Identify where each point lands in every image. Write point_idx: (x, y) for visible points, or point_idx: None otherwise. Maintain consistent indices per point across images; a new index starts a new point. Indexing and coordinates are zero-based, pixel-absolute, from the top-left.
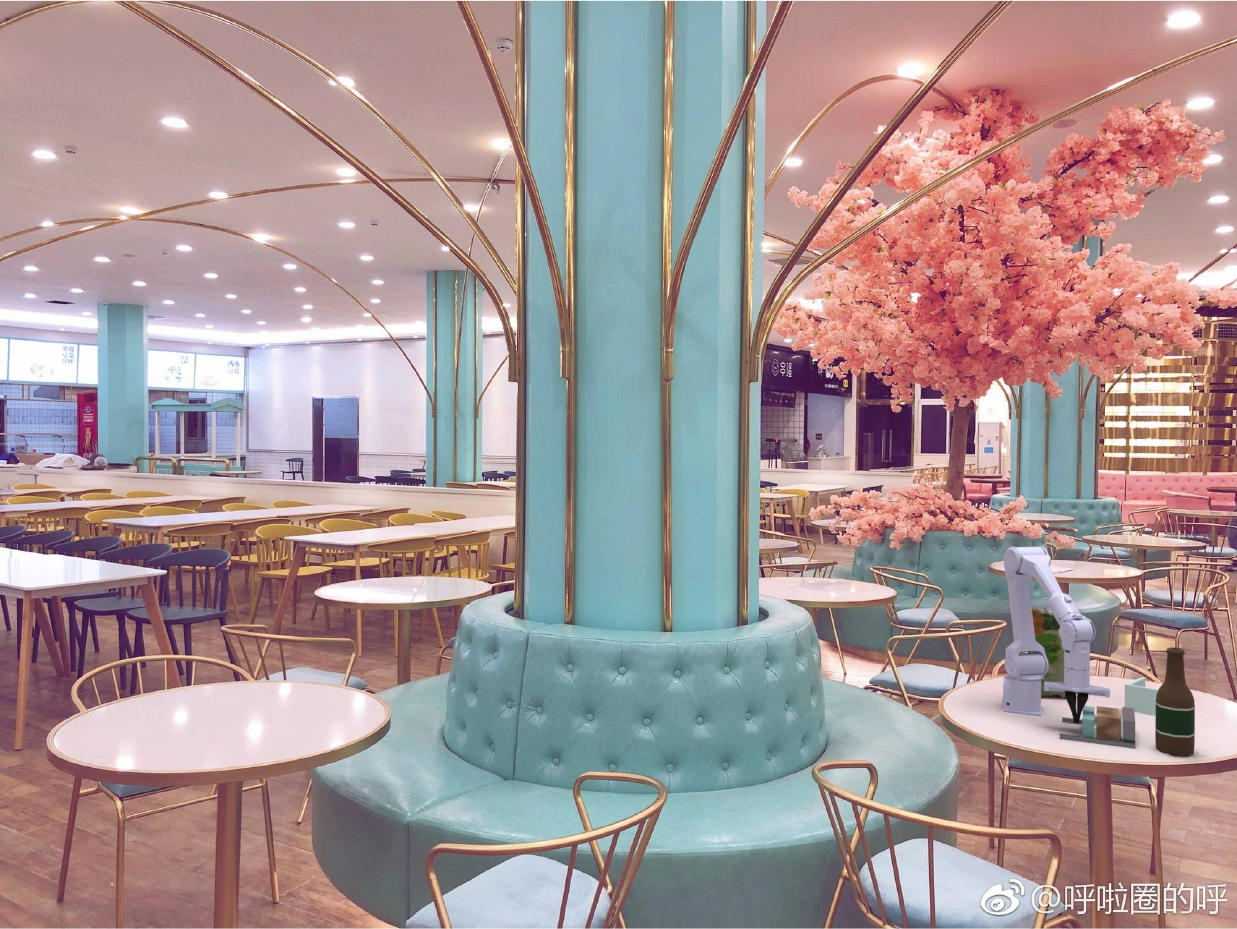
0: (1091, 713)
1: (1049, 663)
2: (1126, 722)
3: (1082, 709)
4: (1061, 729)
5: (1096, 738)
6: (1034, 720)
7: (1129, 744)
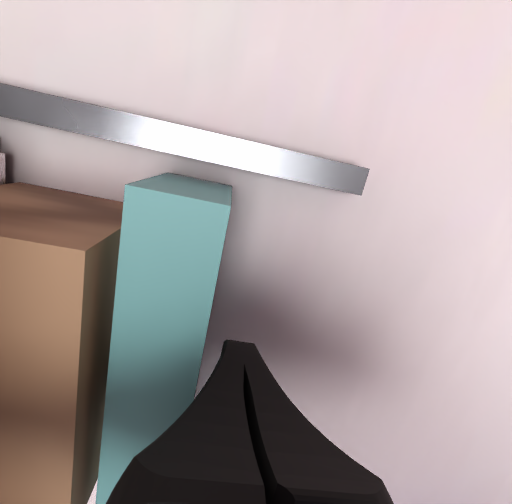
0: (126, 400)
1: None
2: None
3: (197, 399)
4: (298, 358)
5: (150, 139)
6: (384, 453)
7: None
